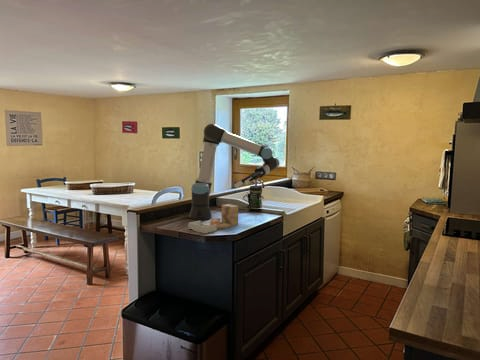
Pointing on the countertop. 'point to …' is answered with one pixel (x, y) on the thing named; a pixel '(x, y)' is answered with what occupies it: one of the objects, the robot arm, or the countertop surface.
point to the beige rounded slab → (201, 227)
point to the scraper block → (229, 214)
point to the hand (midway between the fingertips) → (240, 184)
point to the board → (221, 226)
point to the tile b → (215, 222)
